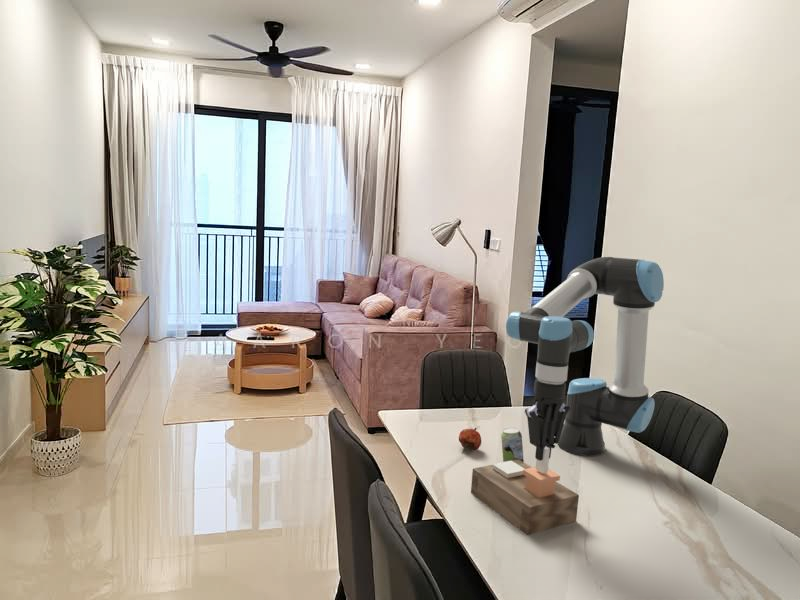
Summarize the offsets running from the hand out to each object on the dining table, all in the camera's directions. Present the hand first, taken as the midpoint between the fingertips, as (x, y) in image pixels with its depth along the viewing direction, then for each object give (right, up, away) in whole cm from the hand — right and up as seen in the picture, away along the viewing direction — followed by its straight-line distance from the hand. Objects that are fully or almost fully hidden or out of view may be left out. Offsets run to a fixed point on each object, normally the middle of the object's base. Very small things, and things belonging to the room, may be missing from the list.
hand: (541, 471), depth 150 cm
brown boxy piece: (-4, -11, +7) cm, 14 cm away
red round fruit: (-13, -6, +42) cm, 45 cm away
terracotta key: (0, -8, +1) cm, 8 cm away
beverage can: (-2, -8, +31) cm, 32 cm away
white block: (-6, -10, +12) cm, 17 cm away
